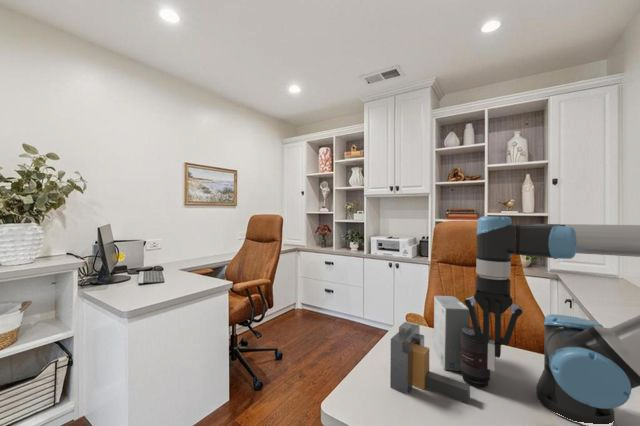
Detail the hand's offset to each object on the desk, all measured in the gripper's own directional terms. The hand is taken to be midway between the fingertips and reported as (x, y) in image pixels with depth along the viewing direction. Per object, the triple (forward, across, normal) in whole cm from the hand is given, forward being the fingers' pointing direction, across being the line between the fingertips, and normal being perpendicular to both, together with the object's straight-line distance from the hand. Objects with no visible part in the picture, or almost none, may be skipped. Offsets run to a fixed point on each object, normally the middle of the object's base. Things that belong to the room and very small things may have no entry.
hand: (491, 367), depth 72 cm
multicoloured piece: (+11, +13, 0) cm, 17 cm away
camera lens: (+11, +5, -11) cm, 16 cm away
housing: (+11, +22, 0) cm, 24 cm away
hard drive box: (+11, +14, -20) cm, 27 cm away
